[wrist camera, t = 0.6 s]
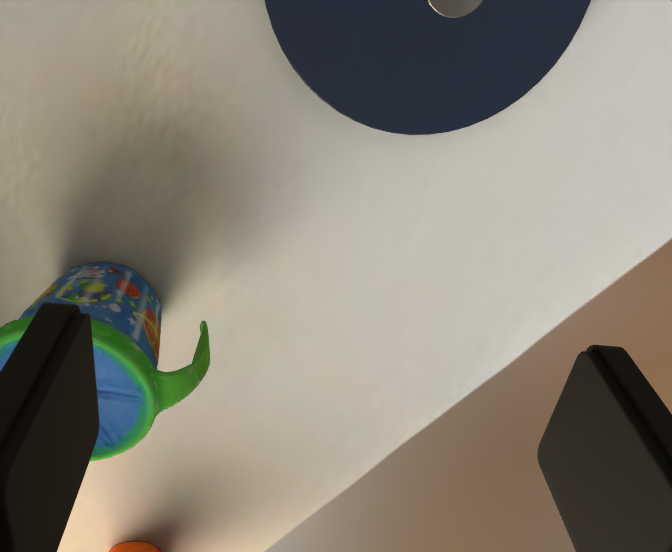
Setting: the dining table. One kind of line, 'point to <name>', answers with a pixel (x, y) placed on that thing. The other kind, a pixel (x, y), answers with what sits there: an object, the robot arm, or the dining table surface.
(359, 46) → the lid
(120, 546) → the paper cup
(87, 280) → the snack cup
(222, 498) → the dining table surface
